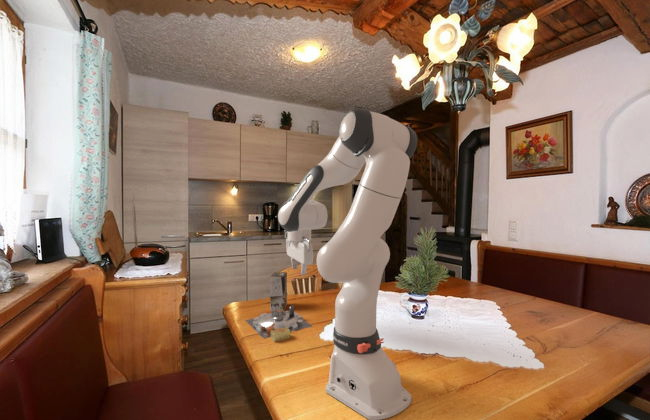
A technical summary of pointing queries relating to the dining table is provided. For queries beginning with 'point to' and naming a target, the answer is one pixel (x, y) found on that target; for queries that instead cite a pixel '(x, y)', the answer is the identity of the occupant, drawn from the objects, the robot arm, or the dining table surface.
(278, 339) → the brass link
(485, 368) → the dining table surface
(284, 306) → the coffee box
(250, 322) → the base plate
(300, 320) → the sprocket
